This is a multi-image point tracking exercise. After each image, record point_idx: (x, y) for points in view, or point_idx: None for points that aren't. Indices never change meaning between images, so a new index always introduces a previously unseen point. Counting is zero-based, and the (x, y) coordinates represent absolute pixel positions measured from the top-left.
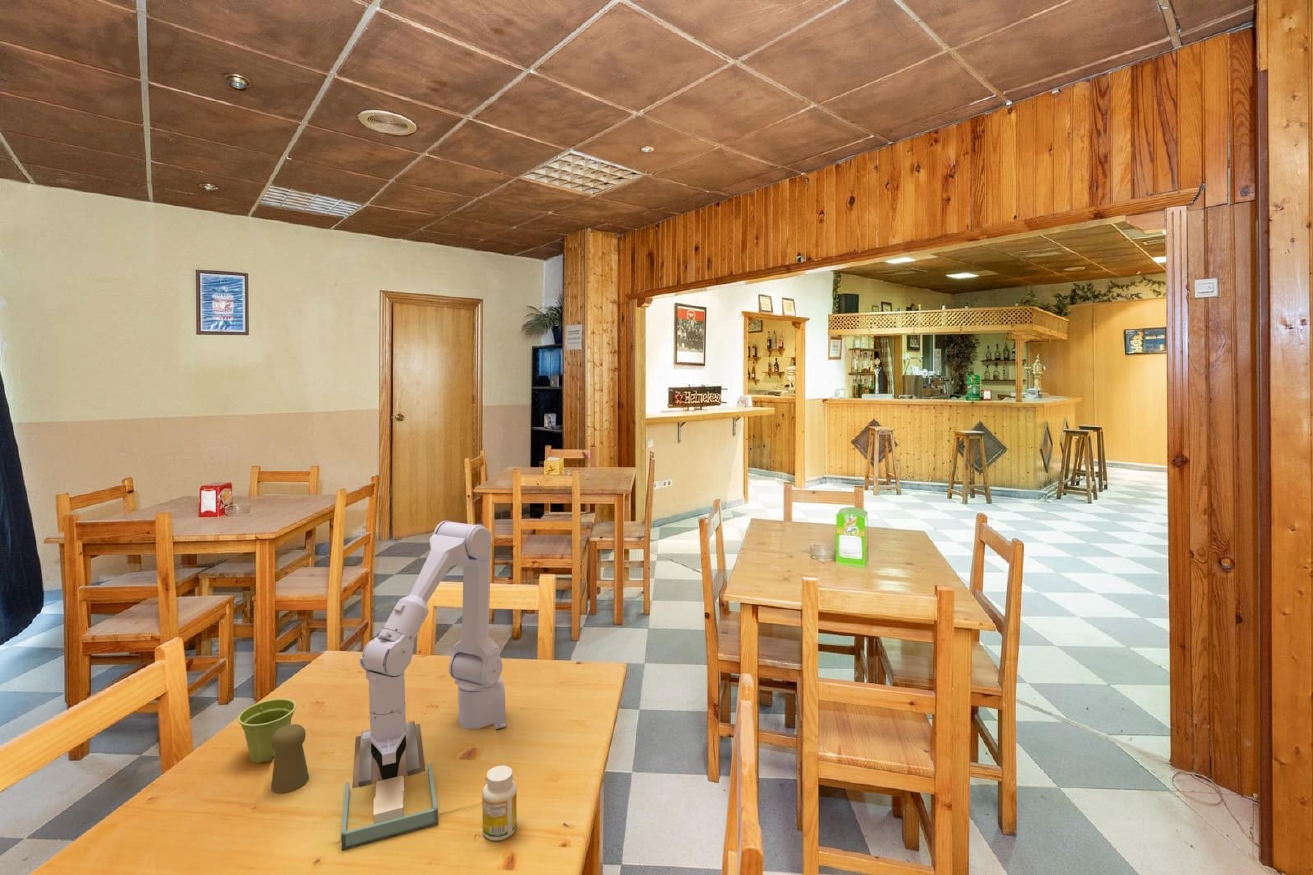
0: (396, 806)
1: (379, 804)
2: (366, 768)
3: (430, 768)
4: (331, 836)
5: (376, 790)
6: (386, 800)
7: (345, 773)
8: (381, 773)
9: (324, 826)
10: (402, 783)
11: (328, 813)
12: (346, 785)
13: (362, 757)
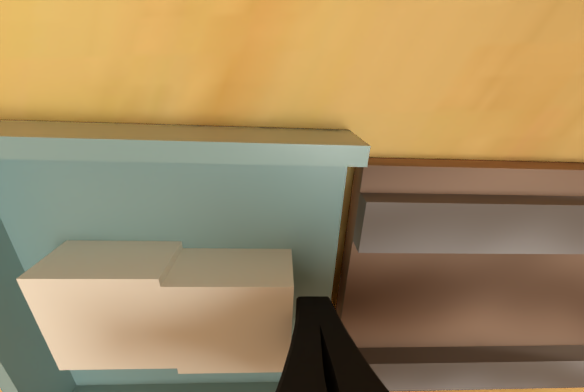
0: (68, 352)
1: (95, 300)
2: (465, 234)
3: None
4: (60, 69)
5: (218, 288)
6: (121, 323)
7: (541, 124)
8: (291, 341)
9: (147, 29)
10: (229, 370)
11: (250, 48)
12: (338, 152)
13: (579, 217)
